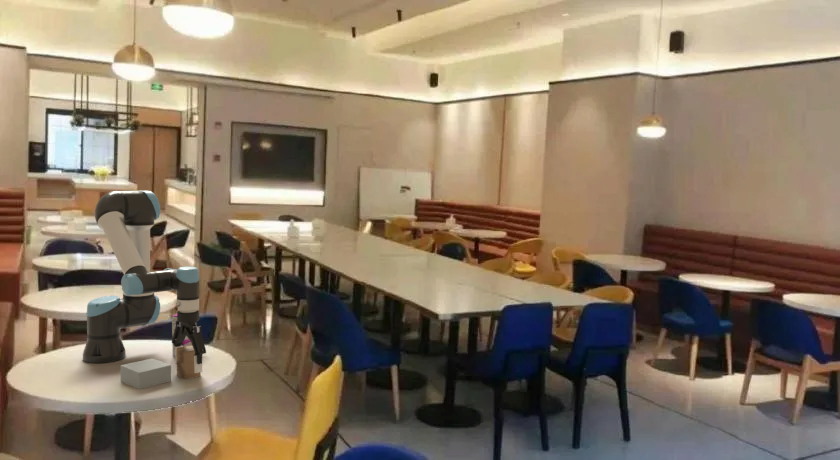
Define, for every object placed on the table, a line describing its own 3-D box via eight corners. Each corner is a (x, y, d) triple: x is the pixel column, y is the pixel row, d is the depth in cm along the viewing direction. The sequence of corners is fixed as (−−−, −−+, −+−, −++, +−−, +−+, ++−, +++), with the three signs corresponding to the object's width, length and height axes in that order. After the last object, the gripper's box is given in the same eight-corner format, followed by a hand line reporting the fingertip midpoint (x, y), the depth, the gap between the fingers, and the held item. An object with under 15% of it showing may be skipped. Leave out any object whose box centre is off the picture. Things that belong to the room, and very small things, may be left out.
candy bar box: (186, 348, 283) (186, 309, 282) (197, 349, 282) (197, 310, 281) (171, 356, 273) (171, 315, 271) (183, 357, 272) (182, 316, 270)
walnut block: (176, 375, 250) (176, 348, 249) (192, 371, 254) (192, 345, 253) (185, 379, 246) (184, 351, 244) (200, 375, 250) (200, 348, 249)
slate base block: (120, 382, 241) (120, 365, 241) (152, 374, 251) (152, 358, 250) (139, 390, 234) (138, 372, 233) (171, 381, 243) (170, 365, 243)
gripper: (161, 305, 253) (162, 362, 255) (196, 318, 236) (196, 378, 238) (180, 303, 258) (181, 358, 261) (216, 314, 242) (216, 373, 244)
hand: (188, 368), depth 249 cm, fingers open, 13 cm apart
